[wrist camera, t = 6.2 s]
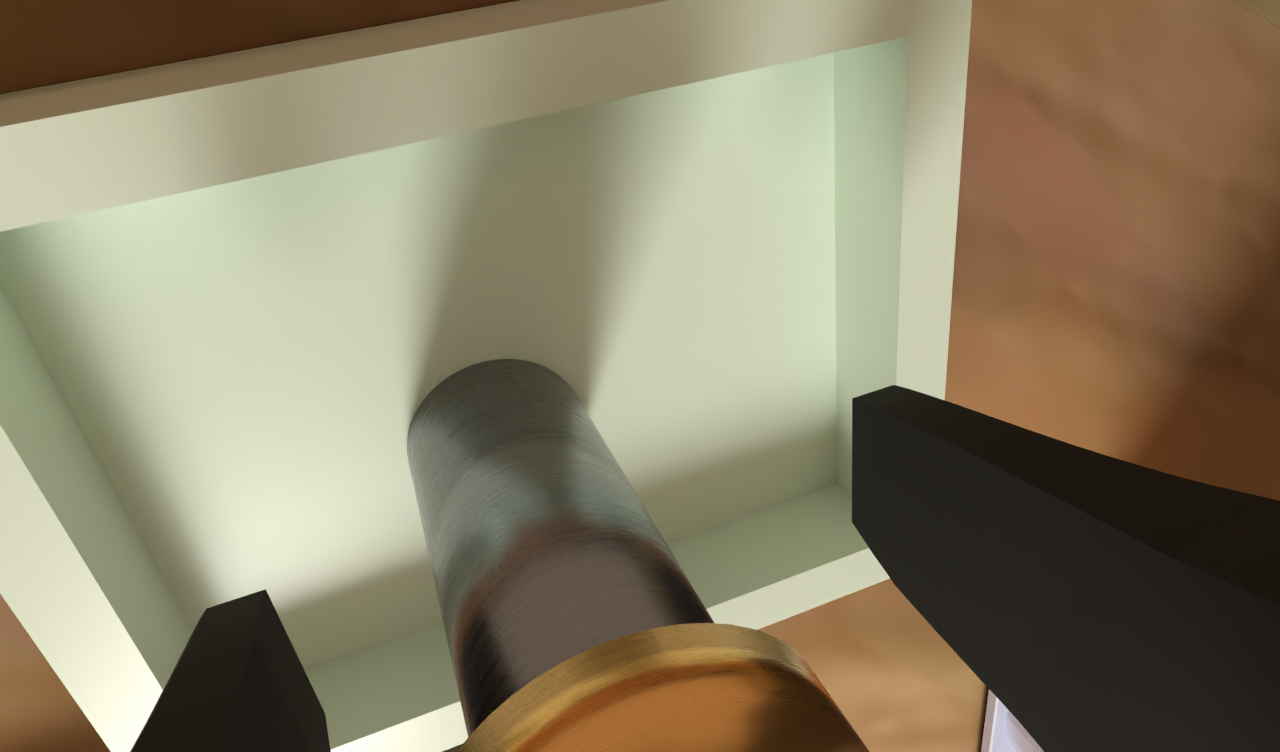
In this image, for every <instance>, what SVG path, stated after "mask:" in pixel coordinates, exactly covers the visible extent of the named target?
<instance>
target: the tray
mask: <svg viewBox="0 0 1280 752" xmlns="http://www.w3.org/2000/svg"><path fill="white" fill-rule="evenodd" d="M971 10H972V0H519V1H513V2H508V3H502V4H497V5H491V6H486V7H480V8H475V9H469V10H464V11H458V12H452V13H447V14H441V15H436V16H430V17H425V18H419V19H414V20H408V21H403V22H397V23H392V24H386V25H381V26H375V27H370V28H364V29H359V30H353V31H347V32H342V33H336V34H331V35H325V36H320V37H314V38H309V39H303V40H298V41H292V42H287V43H281V44H276V45H270V46H265V47H259V48H254V49H248V50H242V51H237V52H231V53H226V54H220V55H215V56H209V57H204V58H198V59H193V60H187V61H182V62H176V63H171V64H165V65H160V66H154V67H148V68H143V69H137V70H132V71H126V72H121V73H115V74H110V75H104V76H99V77H93V78H88V79H82V80H77V81H71V82H66V83H60V84H55V85H49V86H43V87H38V88H32V89H27V90H21V91H16V92H10V93H5V94H0V594H1V595H2V597H3V598H4V599H5V601H6V602H7V604H8V605H9V607H10V608H11V609H12V611H13V612H14V614H15V615H16V617H17V618H18V619H19V621H20V622H21V624H22V625H23V627H24V628H25V630H26V631H27V632H28V634H29V635H30V637H31V638H32V640H33V641H34V642H35V644H36V645H37V647H38V648H39V650H40V651H41V652H42V654H43V655H44V657H45V658H46V660H47V661H48V662H49V664H50V665H51V667H52V668H53V670H54V671H55V673H56V674H57V675H58V677H59V678H60V680H61V681H62V683H63V684H64V685H65V687H66V688H67V690H68V691H69V693H70V694H71V695H72V697H73V698H74V700H75V701H76V703H77V704H78V705H79V707H80V708H81V710H82V711H83V713H84V714H85V716H86V717H87V718H88V720H89V721H90V723H91V724H92V726H93V727H94V728H95V730H96V731H97V733H98V734H99V736H100V737H101V738H102V740H103V741H104V743H105V744H106V746H107V747H108V748H109V750H110V751H111V752H130V751H131V749H132V747H133V746H134V744H135V742H136V740H137V738H138V737H139V735H140V733H141V731H142V729H143V728H144V726H145V724H146V722H147V720H148V718H149V716H150V714H151V712H152V710H153V709H154V707H155V705H156V703H157V701H158V699H159V697H160V695H161V693H162V691H163V689H164V688H165V686H166V684H167V682H168V680H169V678H170V676H171V674H172V672H173V670H174V668H175V666H176V664H177V662H178V660H179V658H180V656H181V654H182V652H183V650H184V648H185V646H186V644H187V642H188V640H189V639H190V637H191V635H192V633H193V631H194V629H195V627H196V625H197V623H198V621H199V620H200V618H201V616H202V615H203V613H204V612H205V610H206V608H210V607H213V606H216V605H219V604H222V603H225V602H228V601H231V600H234V599H237V598H240V597H243V596H246V595H249V594H253V593H256V592H259V591H262V590H265V589H266V591H267V593H268V595H269V597H270V599H271V601H272V603H273V605H274V608H275V610H276V612H277V614H278V616H279V618H280V620H281V622H282V624H283V626H284V629H285V631H286V633H287V635H288V637H289V639H290V641H291V643H292V645H293V647H294V649H295V652H296V654H297V656H298V658H299V660H300V662H301V664H302V666H303V668H304V670H305V673H306V675H307V677H308V679H309V681H310V683H311V685H312V687H313V689H314V691H315V693H316V696H317V698H318V700H319V702H320V704H321V706H322V708H323V710H324V712H325V716H326V723H327V730H328V737H329V744H330V751H331V752H442V751H445V750H448V749H450V748H453V747H455V746H458V745H460V744H463V743H464V742H465V741H466V739H467V738H468V734H467V730H466V725H465V720H464V716H463V711H462V707H461V702H460V697H459V693H458V688H457V684H456V679H455V674H454V670H453V665H452V660H451V656H450V651H449V647H448V642H447V637H446V633H445V628H444V624H443V619H442V614H441V610H440V605H439V600H438V596H437V591H436V587H435V582H434V577H433V573H432V568H431V564H430V559H429V554H428V550H427V545H426V540H425V536H424V531H423V527H422V522H421V517H420V513H419V508H418V504H417V499H416V494H415V490H414V485H413V480H412V476H411V471H410V467H409V462H408V456H407V438H408V432H409V428H410V425H411V422H412V419H413V417H414V415H415V413H416V411H417V409H418V407H419V406H420V404H421V403H422V401H423V400H424V399H425V398H426V396H427V395H428V394H429V393H430V392H431V391H432V390H433V389H434V388H435V387H436V386H437V385H438V384H439V383H440V382H442V381H443V380H445V379H446V378H447V377H449V376H450V375H452V374H454V373H456V372H458V371H459V370H461V369H464V368H466V367H468V366H471V365H473V364H477V363H481V362H484V361H490V360H496V359H517V360H524V361H529V362H533V363H536V364H539V365H542V366H544V367H546V368H548V369H550V370H552V371H554V372H555V373H556V374H558V375H559V376H561V377H562V378H563V379H564V380H565V381H566V382H567V383H568V384H569V385H570V387H571V388H572V389H573V390H574V392H575V393H576V395H577V397H578V398H579V400H580V402H581V403H582V405H583V407H584V408H585V410H586V412H587V413H588V415H589V416H590V418H591V420H592V421H593V423H594V425H595V426H596V428H597V430H598V431H599V433H600V435H601V436H602V438H603V440H604V441H605V443H606V445H607V446H608V448H609V450H610V451H611V453H612V454H613V456H614V458H615V459H616V461H617V463H618V464H619V466H620V468H621V469H622V471H623V473H624V474H625V476H626V478H627V479H628V481H629V483H630V484H631V486H632V488H633V489H634V491H635V492H636V494H637V496H638V497H639V499H640V501H641V502H642V504H643V506H644V507H645V509H646V511H647V512H648V514H649V516H650V517H651V519H652V521H653V522H654V524H655V526H656V527H657V529H658V530H659V532H660V534H661V535H662V537H663V539H664V540H665V542H666V544H667V545H668V547H669V549H670V550H671V552H672V554H673V555H674V557H675V559H676V560H677V562H678V563H679V565H680V567H681V568H682V570H683V572H684V573H685V575H686V577H687V578H688V580H689V582H690V583H691V585H692V587H693V588H694V590H695V592H696V593H697V595H698V597H699V598H700V600H701V601H702V603H703V605H704V606H705V608H706V610H707V611H708V613H709V615H710V616H711V618H712V620H713V621H714V623H717V624H731V625H736V626H741V627H746V628H751V629H755V630H758V629H760V628H763V627H765V626H768V625H771V624H773V623H776V622H778V621H781V620H783V619H786V618H789V617H791V616H794V615H796V614H799V613H802V612H804V611H807V610H809V609H812V608H814V607H817V606H820V605H822V604H825V603H827V602H830V601H833V600H835V599H838V598H840V597H843V596H845V595H848V594H851V593H853V592H856V591H858V590H861V589H864V588H866V587H869V586H871V585H874V584H877V583H879V582H882V581H884V580H887V579H889V578H890V577H889V576H888V574H887V573H886V572H885V570H884V569H883V567H882V566H881V565H880V563H879V562H878V560H877V559H876V558H875V556H874V555H873V553H872V552H871V550H870V549H869V547H868V546H867V544H866V543H865V541H864V540H863V538H862V537H861V535H860V534H859V532H858V531H857V529H856V528H855V526H854V525H853V523H852V398H855V397H858V396H861V395H864V394H867V393H870V392H873V391H876V390H879V389H882V388H885V387H888V386H891V385H897V386H900V387H904V388H907V389H911V390H914V391H917V392H921V393H924V394H927V395H930V396H933V397H936V398H939V399H942V400H945V385H946V371H947V357H948V342H949V328H950V313H951V299H952V284H953V270H954V256H955V241H956V227H957V212H958V198H959V183H960V169H961V155H962V140H963V126H964V111H965V97H966V82H967V68H968V54H969V39H970V25H971Z"/></svg>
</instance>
